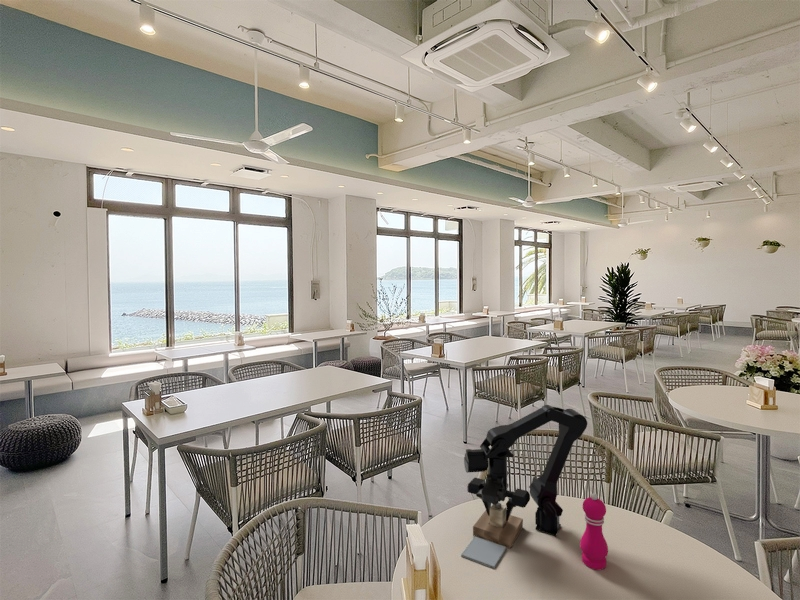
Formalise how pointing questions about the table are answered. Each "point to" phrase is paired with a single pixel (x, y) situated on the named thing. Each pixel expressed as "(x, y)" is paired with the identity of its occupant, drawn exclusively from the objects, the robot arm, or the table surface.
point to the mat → (484, 552)
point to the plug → (498, 515)
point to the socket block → (498, 530)
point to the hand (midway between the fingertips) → (498, 517)
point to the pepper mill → (594, 534)
